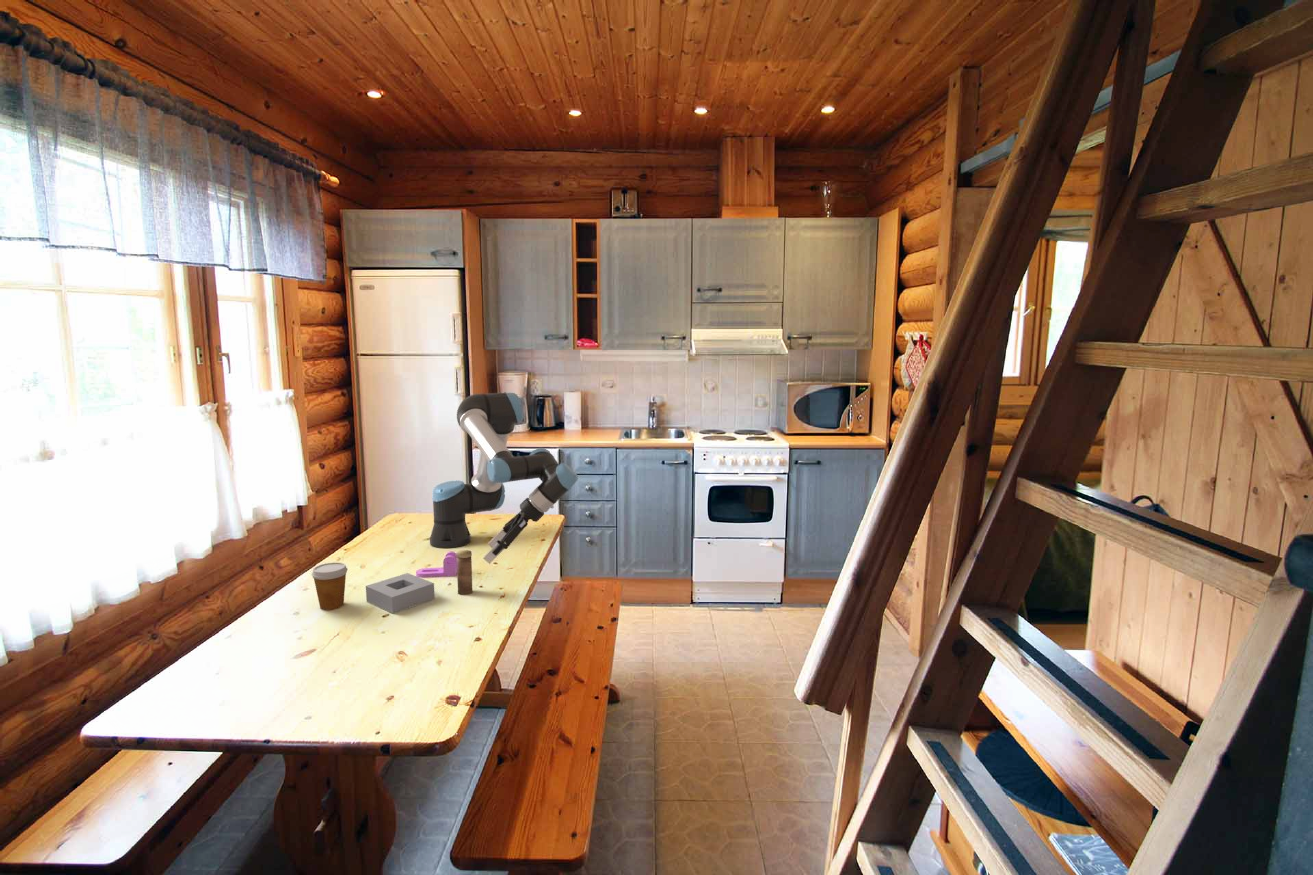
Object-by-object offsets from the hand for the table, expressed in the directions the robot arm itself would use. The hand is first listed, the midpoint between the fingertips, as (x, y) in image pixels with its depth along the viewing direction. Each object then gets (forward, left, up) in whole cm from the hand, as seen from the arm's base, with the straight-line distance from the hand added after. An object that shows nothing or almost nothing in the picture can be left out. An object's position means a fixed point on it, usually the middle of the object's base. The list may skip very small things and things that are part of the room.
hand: (488, 553), depth 206 cm
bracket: (-27, -1, -13) cm, 30 cm away
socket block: (-16, -21, -13) cm, 29 cm away
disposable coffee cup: (-28, -36, -13) cm, 47 cm away
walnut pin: (-6, -5, -13) cm, 15 cm away
